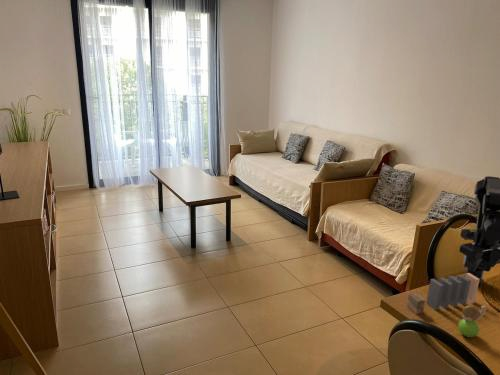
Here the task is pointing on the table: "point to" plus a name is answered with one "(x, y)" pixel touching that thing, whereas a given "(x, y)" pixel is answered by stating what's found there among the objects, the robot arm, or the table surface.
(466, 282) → the domino
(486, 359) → the table surface
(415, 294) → the stop block
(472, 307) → the snail figurine
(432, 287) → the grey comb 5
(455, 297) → the domino
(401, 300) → the table surface
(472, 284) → the domino
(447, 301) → the domino
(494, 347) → the table surface
